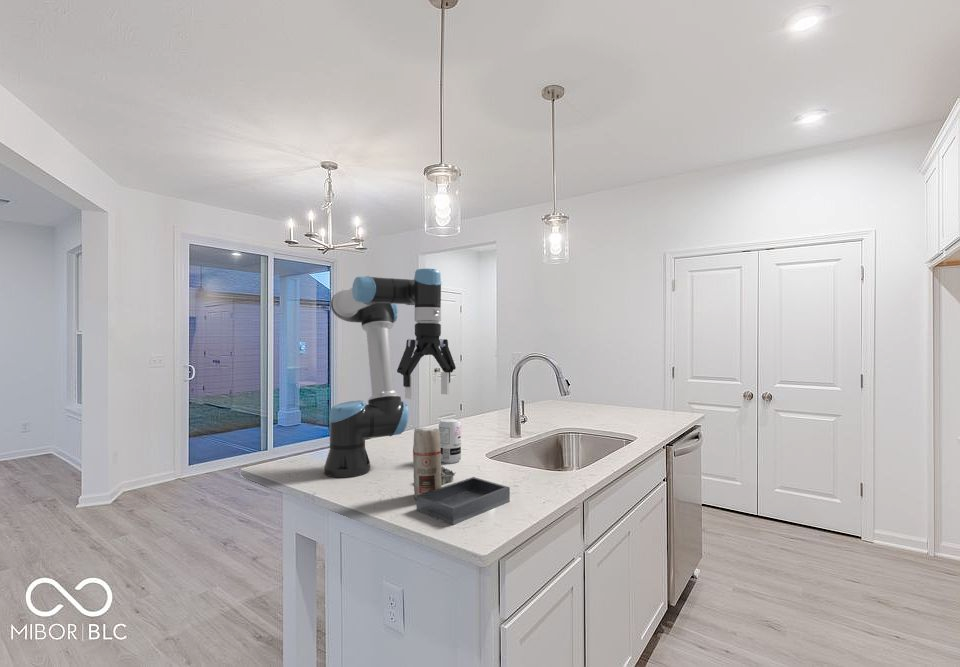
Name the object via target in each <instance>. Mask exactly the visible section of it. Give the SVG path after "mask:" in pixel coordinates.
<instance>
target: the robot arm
mask: <svg viewBox="0 0 960 667" xmlns="http://www.w3.org/2000/svg"><path fill="white" fill-rule="evenodd" d="M441 302H442V278H441V271H440V270H439V269H435V268H425V267H424V268H418V269H416V270H415V271H414V277H413V279H406V278H391V277H390V278H388V277H377V276H376V277H375V276H374V277H373V276H370V275H366V276H357V277H355V278H354V279H353V282H352V287H351V288H349V289H341V290H340V291H338V292H336V293H335V294H333V296H332V298H331V299H330V309H331V311H332V313H333V314H334V315H335V316H336V317H337V318H338V319H340V320H342V321H344V322H345V321H346V322H348V323H360V324H361V329H362V330H363V331H365V333H366V341H367V352H368V365H369V376H370V386H371V388H370V389H371V395H370V397H369V398H368V399H367V402H368V404H366V402H365V401H364V400H351V401H346V402H340V403H338V404H335V405H334V406H332V407H331V409H330V411H329V412H330V413H329V420H328V421H329V452H328V454H327V456H326V460H325V463H324V466H323V467H324V468H323V469H324V470H323V474H325V475H326V476H327V477H333V478H352V477H357V476H362V475H365V474H367V473H368V472H370V470H371V461H370V458H369V455H368V452H367V448H366V440H367V439H372V438H382V437H383V438H384V437H393V436H398V435H401V434H403V433H404V432H405V430H406V428H407V425H408V422H409V407H408V404H407V403H406V402H405V401H402V397H401V395H400V393H399V394H398V393H397V390H396V379H395V369H394V361H393V351H392V350H393V349H392V340H391V329H392V328H393V327H394V324H395V323H396V321H397V319H398V313H399V312H398V311H399V310H398V304H399V305H406V306H414V322H416V323H415V324H414V336H415V337H416V339H406V344H405V349H404V352H403V354H402V357H401V359H400V361H399V364H398V367H397V369H396V372H397V373H398V374H400V375H402V376H403V377H402V378H403V384H402V385H403V387H404V399H408V400H413V399H414V375H412V373H413V371H414V370H415V369H416V367H417V366H418V364H419V362H420V361H421V359H422V358H423V357H424V356H429V355H430V356H433V357H434V359H435V361H436V362H437V364H438V365H439V367H440V368H441V370H442V372H440V394H441V395H446V396H447V395H450V383H451V373H453V372H454V371H455V370H456V369H457V368H456V364H455V361H454V359H453V356H452V352H451V350H450V348H449V341H448V339H441V338H440V336H441V335H442V334H441V333H442V324H441V323H440V322H441V321H442V317H441V316H442V311H441V310H442V308H441V305H442V303H441Z"/></svg>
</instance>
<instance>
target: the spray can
mask: <svg viewBox="0 0 960 667" xmlns="http://www.w3.org/2000/svg"><path fill="white" fill-rule="evenodd" d="M412 457H413V458H412V464H413V468H412V470H413V492H414V495H413V496H414V497H413V498H414V499H417V495H419V494H422V493H425V492H429V491H432V490H435V489H438V488H441V487H443V485H441V467H442V462H441V447H440V433H439V427H434V428H432V427H421V428H420V427H415V428H414V430H413V446H412Z"/></svg>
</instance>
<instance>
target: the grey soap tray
mask: <svg viewBox="0 0 960 667" xmlns="http://www.w3.org/2000/svg"><path fill="white" fill-rule="evenodd" d="M510 488H511V487H510V486H508V485H507V486H506V485H503V484H500V483H496V482H494V481H493V482H492V481H489V480H486V479H482V478H479V477H475V476H472V477H469V478H466V479H462V480H460V481H457V482H454V483H453V482H452V483H451V484H450V483H449V484H447V485H443V486H441V488H438V489H435V490H432V491H429V492H425V493H422V494H419V495H417V499H416V498H415V499H416V503H415V504H416V506H415V507H416V509H415V510H416V511H417V512H418V513H419V512H420V513H421V514H424V515H427V516H429V517H433V518H435V519H437V520H440V521H442V522H444V523H447V524H449V525H452V526H454V525H457V524H459V523H462V522H464V521H466V520H469V519H471V518H474V517H476V516H478V515H481V514H483V513H486V512H488V511H491V510H493V509H495V508H498V507H499V506H503V505H505V504H508V503H510V501H511V500H510V499H511V496H510V493H511V492H510V491H511V490H510Z"/></svg>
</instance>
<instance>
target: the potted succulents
mask: <svg viewBox="0 0 960 667" xmlns="http://www.w3.org/2000/svg"><path fill="white" fill-rule="evenodd" d="M455 474H456V472H453V470H450V469H448V468H445V467H444V466H442V465H441V485H442V486H445V484H446V483H453V482H454V476H455Z"/></svg>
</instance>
